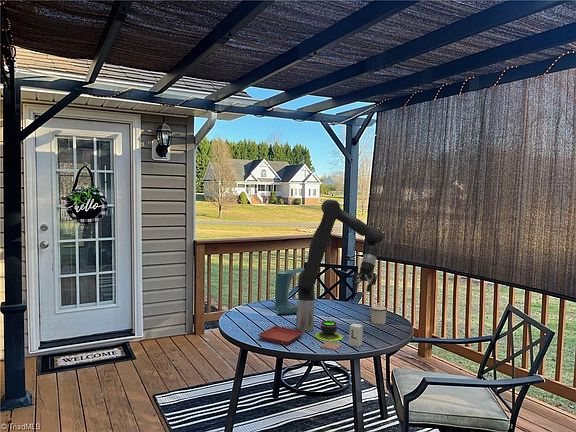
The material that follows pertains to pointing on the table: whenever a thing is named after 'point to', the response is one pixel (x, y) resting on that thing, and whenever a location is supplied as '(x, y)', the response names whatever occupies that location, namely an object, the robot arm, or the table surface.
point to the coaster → (331, 346)
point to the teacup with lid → (378, 314)
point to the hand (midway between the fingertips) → (361, 291)
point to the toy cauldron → (328, 331)
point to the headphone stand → (285, 291)
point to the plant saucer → (280, 335)
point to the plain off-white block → (356, 335)
